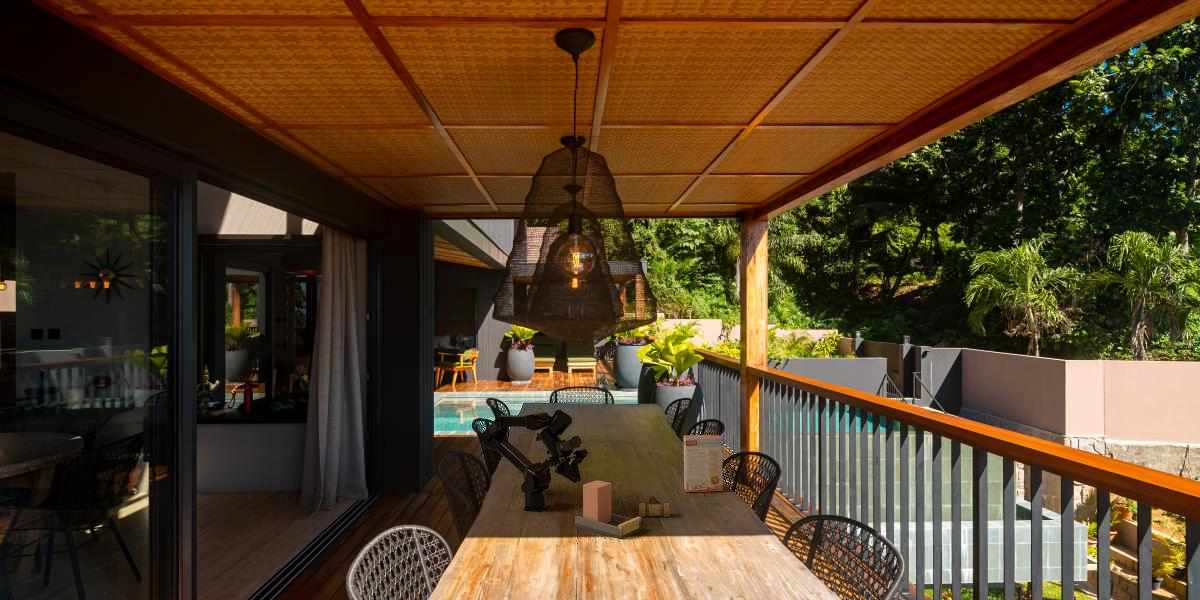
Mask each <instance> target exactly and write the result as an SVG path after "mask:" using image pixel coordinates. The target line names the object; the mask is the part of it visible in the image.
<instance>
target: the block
mask: <svg viewBox="0 0 1200 600" xmlns="http://www.w3.org/2000/svg"><path fill="white" fill-rule="evenodd" d="M582 501H583V502H582V517H583V518H587V519H591V520H595V521H598V522H602V523H608V522H610V521H611V513H612V483H611V482H606V481H602V480H597V479H596V480H593V481H591V482H587V483H585V484H583V485H582Z"/></svg>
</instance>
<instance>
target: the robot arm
mask: <svg viewBox="0 0 1200 600" xmlns="http://www.w3.org/2000/svg"><path fill="white" fill-rule="evenodd" d="M571 425H573V418H572V417H571V415H569V414H568V413H566V412H564V411H563V410H562V409H556V410H555V411H554V414H552V415H550V414H549V413H548V412H547V411H541V412H537V413H536V412H535V413H532V414H527V415H521V414H519V415H517V414H514V415H513V414H511V415H509V414H503V415H498V416H496V417H495V418H494V420H493V421H492V422H491V423H490V424H488V426H487V427H486V428H485V430H483V432H482V434H481V442H482V444H483V445H484V446H485V447H487V448H488V449H489V450H493V451H497V452H499V453H500V454H501V455H502V456H503V457H504V458H505V459H507V461H509V463H510V464H511V465H513V466H514V467H515V468H516V469H517V470H518V471H519V472H521V473H522V477H523V480H524V482H522V484H521V485H520V489H521V492H522V493H524V502H525V503H524V507H523V511H529V510H531V511H532V512H542V511H543V510H544V509H545V508H547V506H548V505H547V494H546V490H548V489H549V488H550V484H551V482H552V473H551V468H553V467H554V468H555V470H554V473H555V474H558V475H560V476H561V477H563V478H565V479H567V480H569V481H570V482H572V483H574V484H577V483H581V481H582V477H581V473H580V469H579V465H580V464H582V462H583V461H584V460H585V459H586V458H587V457H588V456H589V455H590V454H589V452H588V450H587V448H581V445H582V443H583V440H582V439H581V437H580V436H579V435H574V436H573V437H571V439H567V440H566V439H562V438H561V437H560V436H561V435H563V434H564V433H565V432H566V431H567V430H568V428H570V426H571ZM510 427H513V428H514V427H517V428H519V427H521V428H522V427H523V428H526V429H527V430H530V431H532V432H533V431H534V432H535V431H539V430H541V431H540V432H538V433H536V438H535V442H542V443H543V445H544V446H545V448H546V452H545V453H546V455H550V456H549V457H546V459H545V460H544V461H543V462H541V461H540V462H535V463H533V462H532V461H531V460H530V459H529V458H528V457H526V456H525V455H524V454H523V453H522V452H521V451H520V450H519V449H518V448H516V447H515V446H514V445H513V444H512V443H511V442H510V441H509V438H508V433H509V431H510V430H509V428H510ZM578 448H579V449H578ZM531 511H530V512H531Z"/></svg>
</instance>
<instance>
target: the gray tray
mask: <svg viewBox="0 0 1200 600" xmlns="http://www.w3.org/2000/svg"><path fill="white" fill-rule="evenodd" d="M574 527H576V528H580V529H582V530H583V529H584V530H587V531H590V532H594V533H597V534H601V535H604V536H605V535H606V536H608V537H612V538H616V539H618V540H619V539H620V540H623V539H625V538H627V537H629V536H632V535H634V534H636V533H638V532H640V531H642V517H640V516H636V517H634V518H632V517H629V516H624V515H620V514H617V513H612V512H611V521H610V522H608V523H602V522H598V521H595V520H591V519H587V518H583V516H579V515H576V516H574Z"/></svg>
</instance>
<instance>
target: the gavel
mask: <svg viewBox="0 0 1200 600" xmlns="http://www.w3.org/2000/svg"><path fill="white" fill-rule="evenodd" d="M648 501H649V503H648V504H646V502H639V505H638V509H639V514H638V515H639V516H638V517H641V518H646V517H654V516H661V517H663V518H670V515H671V508H670V503H669V502H668V503H663V504H660V503H658V502H657V498H656V497H655V496H653V495H652V496H650V497H649V498H648ZM645 516H646V517H645Z"/></svg>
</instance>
